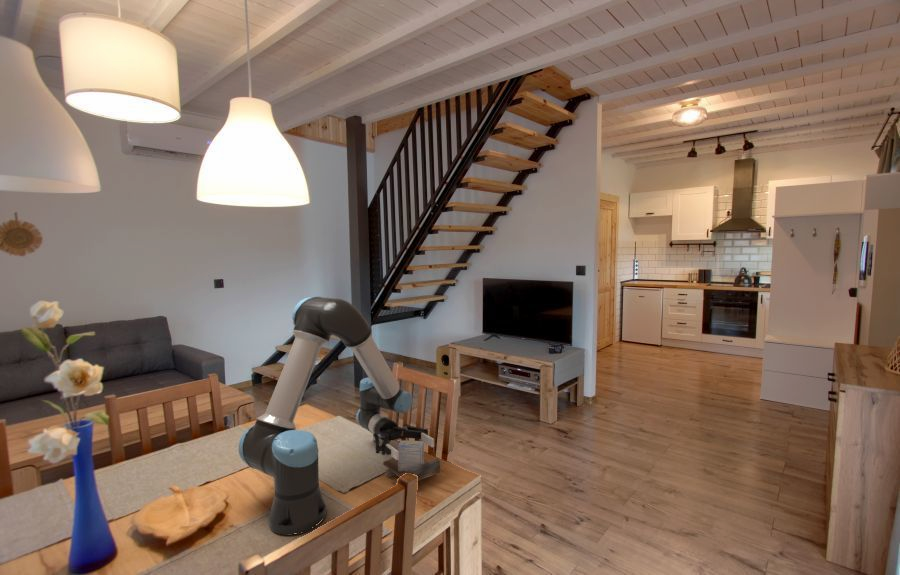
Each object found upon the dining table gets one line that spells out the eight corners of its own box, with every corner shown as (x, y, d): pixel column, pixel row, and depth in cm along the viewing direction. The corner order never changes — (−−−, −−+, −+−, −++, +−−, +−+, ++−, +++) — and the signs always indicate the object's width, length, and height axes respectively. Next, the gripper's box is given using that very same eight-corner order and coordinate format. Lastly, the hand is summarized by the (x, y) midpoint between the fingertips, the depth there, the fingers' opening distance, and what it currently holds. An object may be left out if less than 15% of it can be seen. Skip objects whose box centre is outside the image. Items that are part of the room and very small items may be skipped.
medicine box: (424, 466, 140) (424, 440, 139) (421, 473, 136) (421, 447, 135) (401, 464, 141) (400, 439, 140) (397, 471, 137) (397, 445, 136)
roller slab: (407, 493, 131) (407, 473, 130) (381, 472, 143) (381, 453, 143) (441, 478, 139) (441, 459, 138) (414, 460, 151) (413, 442, 151)
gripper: (412, 428, 160) (446, 449, 144) (351, 447, 145) (381, 473, 129) (412, 409, 160) (446, 427, 143) (350, 426, 145) (381, 449, 128)
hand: (416, 449), depth 136 cm, fingers open, 13 cm apart
